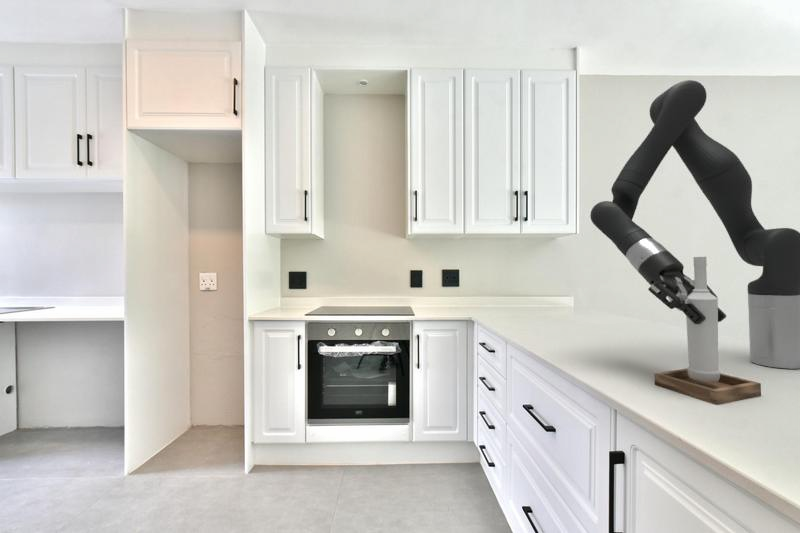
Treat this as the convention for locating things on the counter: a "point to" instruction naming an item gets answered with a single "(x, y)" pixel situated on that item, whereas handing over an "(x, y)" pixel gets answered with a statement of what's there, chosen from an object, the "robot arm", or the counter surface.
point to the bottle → (703, 329)
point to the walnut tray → (709, 387)
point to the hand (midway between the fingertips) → (711, 320)
